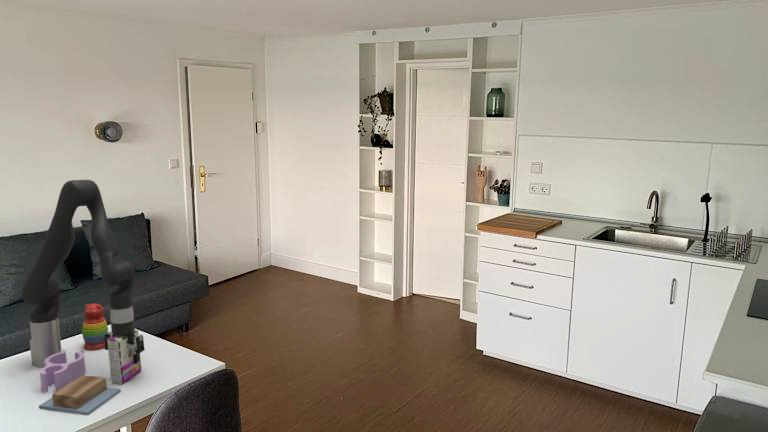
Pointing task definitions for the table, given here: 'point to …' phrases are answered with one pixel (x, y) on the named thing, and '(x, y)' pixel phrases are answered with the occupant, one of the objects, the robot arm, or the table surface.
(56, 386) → the clip
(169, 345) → the table surface
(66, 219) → the robot arm
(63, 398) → the walnut plinth
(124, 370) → the candy bar box
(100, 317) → the stacking bear
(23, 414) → the table surface
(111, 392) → the slate blue board
